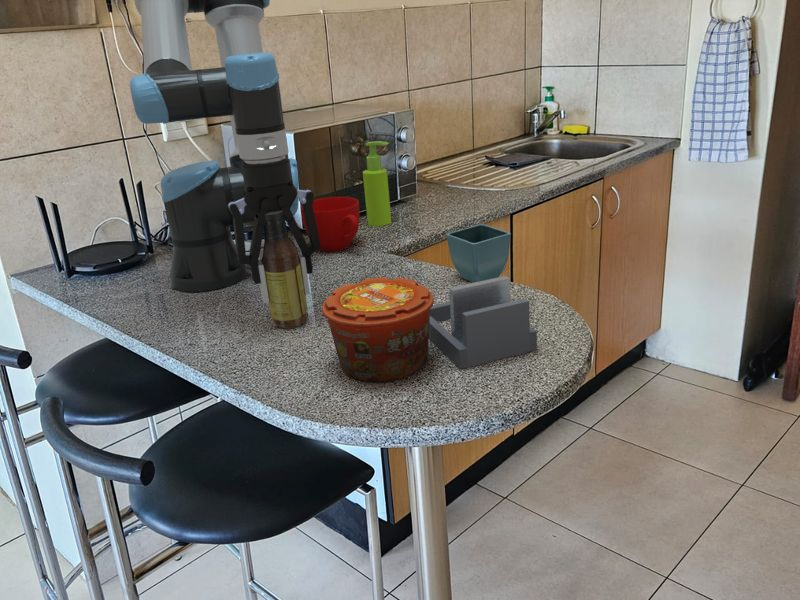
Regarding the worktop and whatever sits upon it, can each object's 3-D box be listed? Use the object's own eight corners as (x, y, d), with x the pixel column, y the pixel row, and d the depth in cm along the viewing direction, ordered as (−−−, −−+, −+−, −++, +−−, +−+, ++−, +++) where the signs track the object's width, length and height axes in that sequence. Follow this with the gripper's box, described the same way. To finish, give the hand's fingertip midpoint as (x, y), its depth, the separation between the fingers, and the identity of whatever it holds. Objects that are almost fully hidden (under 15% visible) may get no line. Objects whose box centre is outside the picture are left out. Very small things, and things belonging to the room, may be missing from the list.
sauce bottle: (291, 312, 122) (276, 202, 115) (316, 319, 118) (302, 206, 111) (263, 325, 118) (245, 212, 110) (288, 333, 114) (271, 216, 106)
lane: (413, 324, 114) (409, 278, 111) (481, 308, 117) (479, 264, 114) (460, 369, 98) (457, 317, 95) (536, 349, 102) (536, 299, 99)
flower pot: (475, 290, 125) (473, 243, 122) (447, 278, 132) (444, 233, 129) (513, 278, 129) (512, 232, 126) (483, 267, 136) (481, 223, 133)
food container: (307, 376, 100) (297, 308, 96) (369, 332, 112) (362, 270, 108) (401, 399, 92) (395, 325, 88) (457, 349, 104) (453, 282, 100)
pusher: (452, 350, 104) (449, 288, 100) (507, 336, 107) (505, 275, 103) (456, 353, 103) (452, 290, 99) (510, 339, 105) (509, 278, 102)
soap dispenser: (390, 226, 168) (383, 143, 161) (364, 226, 171) (356, 144, 163) (398, 219, 173) (391, 139, 166) (372, 219, 176) (365, 140, 168)
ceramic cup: (333, 264, 145) (328, 218, 142) (295, 248, 158) (289, 205, 155) (384, 249, 152) (380, 205, 148) (343, 234, 165) (339, 193, 161)
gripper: (204, 171, 101) (231, 315, 110) (330, 153, 107) (346, 291, 116) (199, 163, 108) (225, 300, 117) (318, 146, 114) (334, 278, 122)
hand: (285, 295), depth 116 cm, fingers closed on sauce bottle, 6 cm apart
